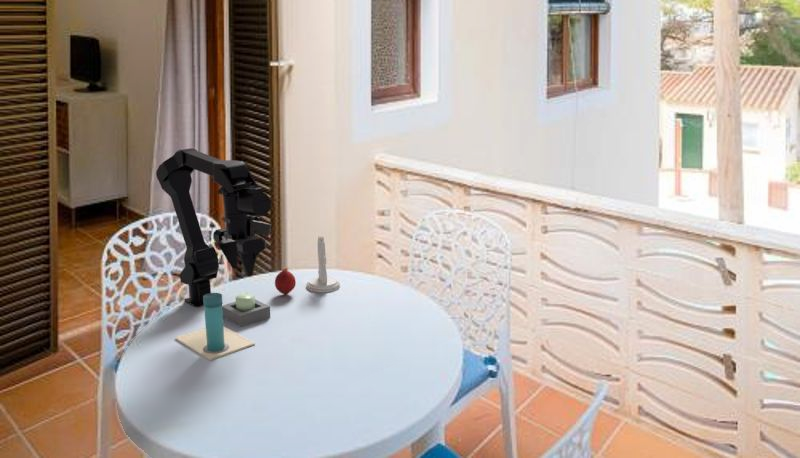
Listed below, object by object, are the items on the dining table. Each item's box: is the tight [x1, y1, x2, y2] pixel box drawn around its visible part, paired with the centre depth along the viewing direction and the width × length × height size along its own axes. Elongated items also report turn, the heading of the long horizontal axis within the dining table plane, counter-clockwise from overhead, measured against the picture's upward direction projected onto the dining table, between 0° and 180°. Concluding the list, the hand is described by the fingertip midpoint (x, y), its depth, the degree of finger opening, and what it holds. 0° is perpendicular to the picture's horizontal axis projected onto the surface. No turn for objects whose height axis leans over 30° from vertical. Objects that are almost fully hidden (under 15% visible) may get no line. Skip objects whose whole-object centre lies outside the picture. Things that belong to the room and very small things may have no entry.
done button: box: [235, 293, 256, 312], centre depth 183 cm, size 5×5×4 cm
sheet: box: [174, 326, 256, 361], centre depth 169 cm, size 16×12×1 cm
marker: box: [203, 292, 225, 352], centre depth 163 cm, size 4×4×13 cm
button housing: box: [222, 299, 271, 327], centre depth 184 cm, size 9×9×3 cm
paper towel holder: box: [305, 235, 341, 293], centre depth 205 cm, size 10×10×15 cm
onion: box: [274, 267, 297, 296], centre depth 199 cm, size 6×6×8 cm
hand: (242, 272), depth 180 cm, fingers open, 9 cm apart
